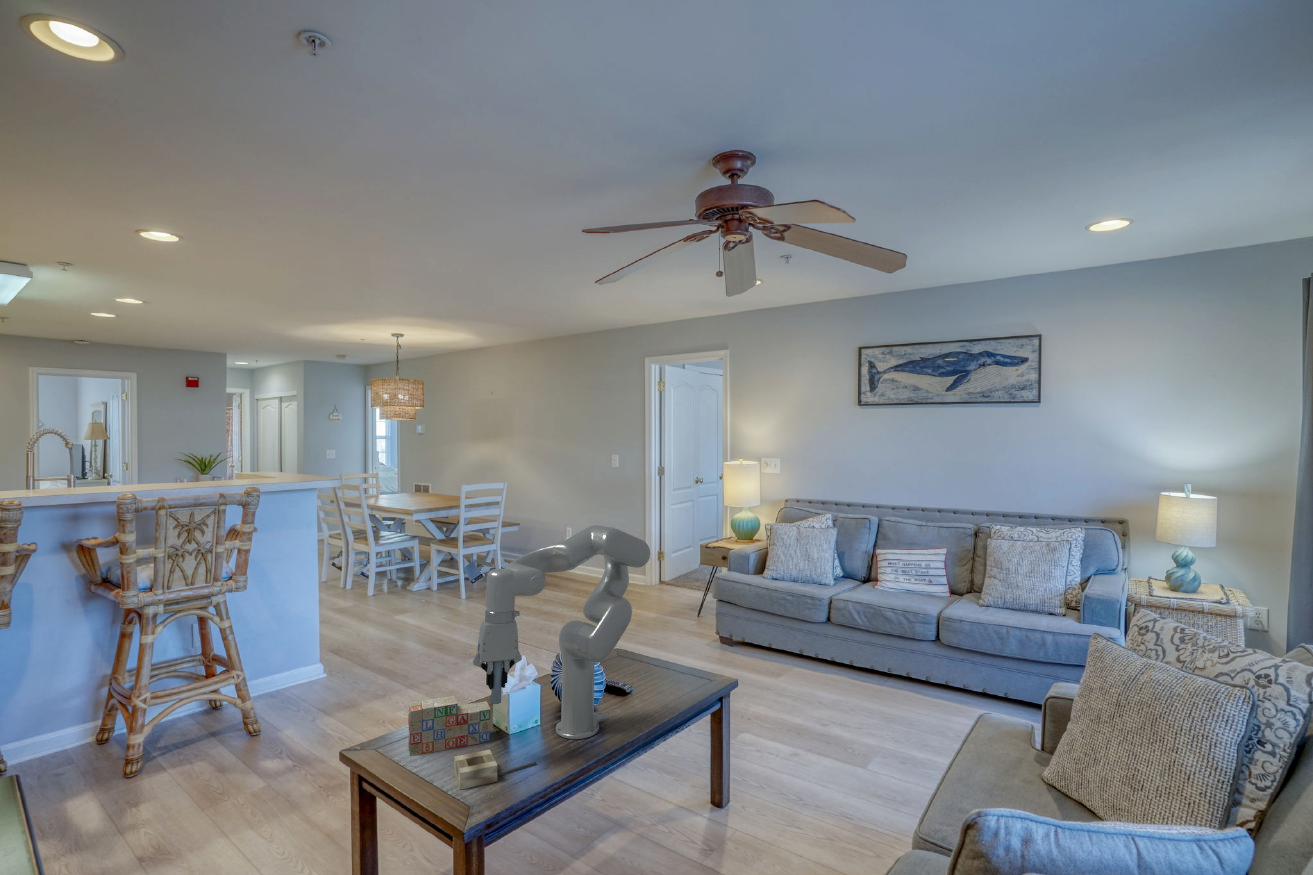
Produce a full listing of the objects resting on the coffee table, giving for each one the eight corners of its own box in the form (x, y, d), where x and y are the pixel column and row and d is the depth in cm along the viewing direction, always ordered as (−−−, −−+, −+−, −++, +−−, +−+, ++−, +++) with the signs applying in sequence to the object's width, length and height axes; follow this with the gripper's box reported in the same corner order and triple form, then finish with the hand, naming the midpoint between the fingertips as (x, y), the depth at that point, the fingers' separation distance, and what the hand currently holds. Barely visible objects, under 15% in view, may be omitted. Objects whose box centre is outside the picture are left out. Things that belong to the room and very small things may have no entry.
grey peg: (499, 699, 169) (501, 654, 170) (501, 703, 167) (504, 657, 167) (490, 701, 168) (492, 655, 168) (491, 704, 166) (494, 658, 166)
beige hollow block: (489, 764, 166) (489, 749, 166) (497, 781, 158) (497, 765, 158) (453, 772, 162) (454, 756, 162) (459, 789, 154) (460, 773, 154)
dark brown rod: (534, 763, 167) (534, 761, 167) (536, 764, 166) (536, 762, 166) (498, 774, 161) (498, 772, 161) (499, 775, 160) (499, 773, 160)
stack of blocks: (486, 732, 184) (487, 690, 184) (490, 742, 179) (491, 698, 179) (407, 746, 176) (408, 701, 176) (409, 756, 170) (409, 710, 170)
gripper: (526, 611, 175) (523, 678, 174) (465, 615, 168) (462, 685, 167) (533, 617, 168) (530, 688, 168) (470, 622, 161) (467, 695, 161)
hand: (496, 686), depth 168 cm, fingers closed on grey peg, 2 cm apart
